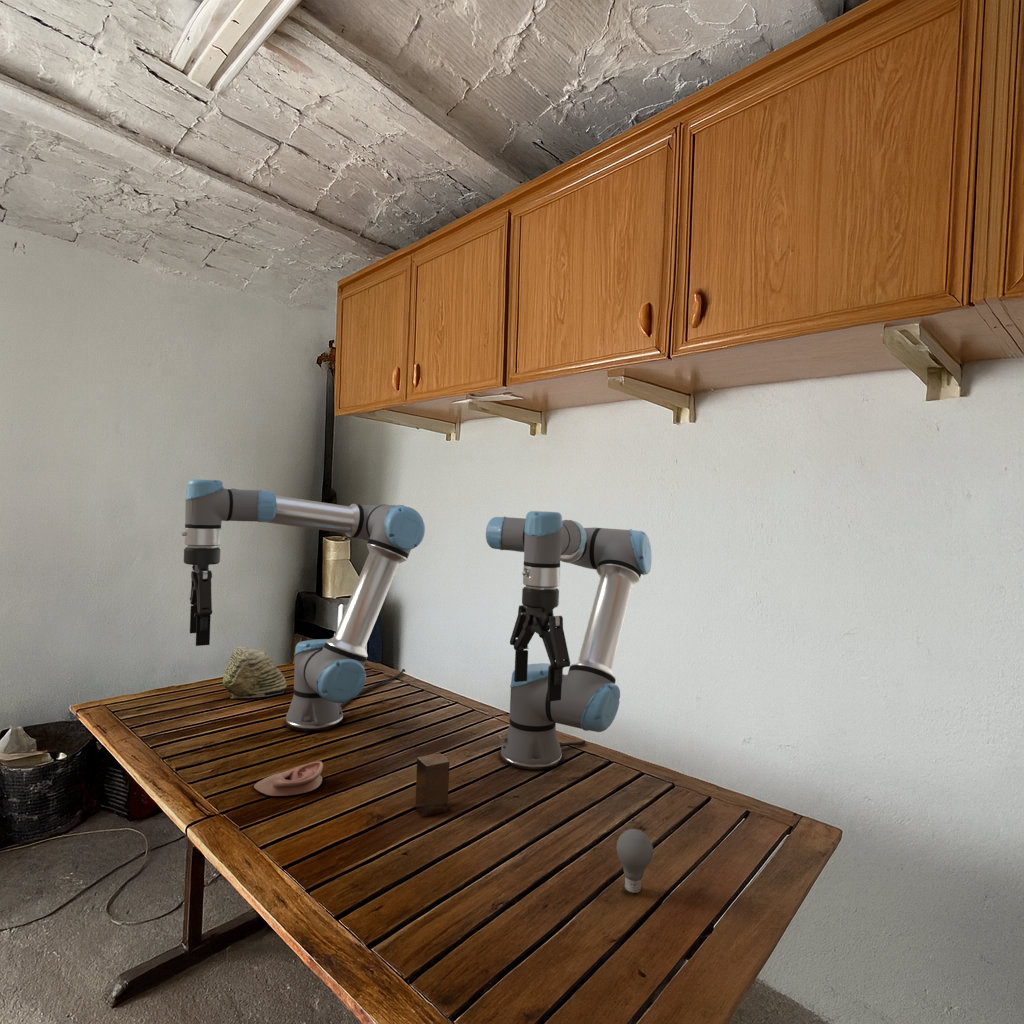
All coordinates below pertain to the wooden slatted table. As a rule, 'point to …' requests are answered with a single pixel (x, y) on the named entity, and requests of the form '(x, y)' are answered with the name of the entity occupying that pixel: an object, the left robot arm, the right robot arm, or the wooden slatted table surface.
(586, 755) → the wooden slatted table surface
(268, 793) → the anatomical model
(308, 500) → the left robot arm
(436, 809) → the block
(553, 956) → the wooden slatted table surface
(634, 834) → the light bulb
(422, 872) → the wooden slatted table surface
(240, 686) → the fossil
